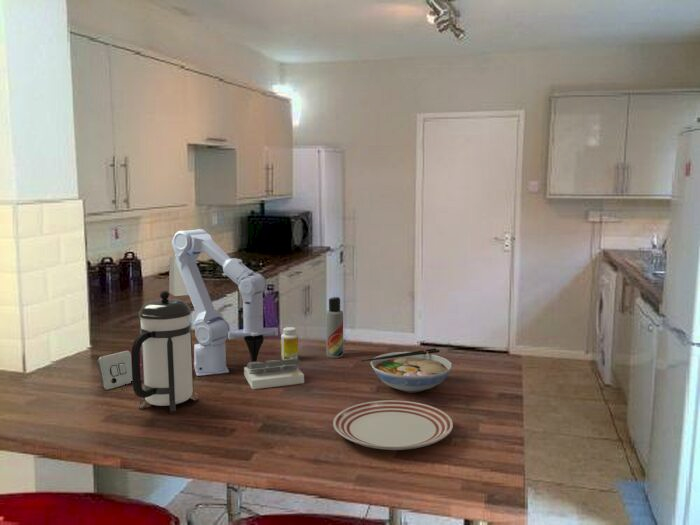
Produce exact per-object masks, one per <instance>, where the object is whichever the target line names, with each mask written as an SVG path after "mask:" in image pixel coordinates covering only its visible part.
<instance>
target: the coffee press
mask: <svg viewBox="0 0 700 525" xmlns="http://www.w3.org/2000/svg"><path fill="white" fill-rule="evenodd" d="M159 297H160V299H154V300H151V301H148V302H145V303H144V304H143V305H142V307H141V308H140V311H138V317H139V318H140V327H139V333H140V334H139V335H138V336H137V337H136V338H135V340H134V341H133V344H132V346H131V360H132V381H133V382H132V389H133V392H134V394H135V396H137V397H139V398H141V400H140V401H139V402H138V408H139V409H140V410H143V409H145V408H146V407H147V406H148V405H149V404H150V405H153V406H157V407H158V406H160V407H162V406H163V407H166V406H168V409H169V413H170V414H176V413H177V408H176V407H177V406H176V405H179V404H181V403H184V402H186V401H188V400H189V399H191V400H192V401H194V402H195V401H196V402H197V401H198V400H199V396H198V394H197V393H196V391H194V372H193V371H194V369H193V368H194V362H193V341H192V338H193V337H192V323H191V313H192V309H191V307H190V306H189V304H188V303H187V302H186V301H184V300H182V299H176V298H170V293H169V292H168V291H167V290H162V291H161V292H160V293H159ZM140 356H141V358H140ZM141 376H142V377H141ZM141 378H142V379H141ZM193 393H194V394H195V395H196V397H195V398H193V397H192V395H193ZM144 400H145V401H146V403H144V405H143V406H141V405H142V403H143V402H144Z"/></svg>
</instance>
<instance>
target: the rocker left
mask: <svg viewBox="0 0 700 525" xmlns="http://www.w3.org/2000/svg"><path fill="white" fill-rule="evenodd" d="M246 367H248V369H259V368H266V366H265V363H264V361H262V362H261V361H253V362H252V361H251V362H248V363H247V364H246Z"/></svg>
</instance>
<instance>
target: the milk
mask: <svg viewBox="0 0 700 525" xmlns="http://www.w3.org/2000/svg"><path fill="white" fill-rule="evenodd" d="M168 263H169V264H168V266H169V268H168V270H169V272H168V274H169V275H168V276H169V284H168V286H169V288H168V290H169V292H168V293H169V294H171V295H172V296H174V297H178V296H180V297H183V296H189V294H188V291H187V289H186V286H185V284H184V281H183V279H182V276H181V274H180V271H179V269H178V266H177V264H176V256H175V251H173V253H172V255H170V257H169V260H168Z"/></svg>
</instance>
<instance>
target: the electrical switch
mask: <svg viewBox="0 0 700 525" xmlns="http://www.w3.org/2000/svg"><path fill="white" fill-rule="evenodd" d="M131 354H132V352H131V351H129V350H124V351H119V352H116V353H113V354H108V355H107V354H106V355H103V356H99V358H98V359H97V360H96V363H97V370H98V375H99V379H100V383H101V384H100V385H101V387H102V388H103V389H104V390H110V389H115V388H119V387H121V386H125V384H126V385H129V384H132V383H131V381H132V360H131Z"/></svg>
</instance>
